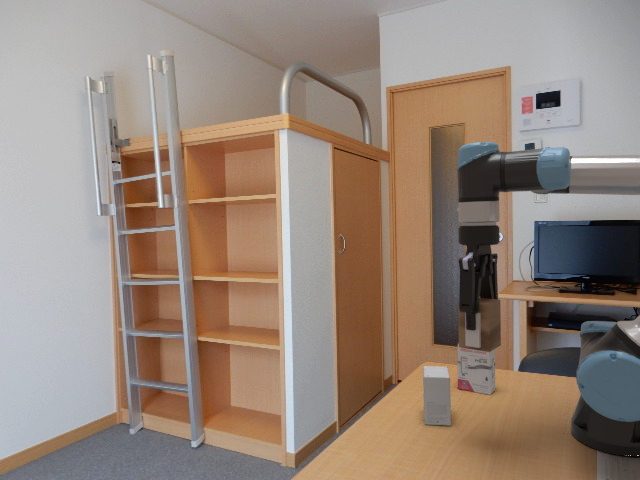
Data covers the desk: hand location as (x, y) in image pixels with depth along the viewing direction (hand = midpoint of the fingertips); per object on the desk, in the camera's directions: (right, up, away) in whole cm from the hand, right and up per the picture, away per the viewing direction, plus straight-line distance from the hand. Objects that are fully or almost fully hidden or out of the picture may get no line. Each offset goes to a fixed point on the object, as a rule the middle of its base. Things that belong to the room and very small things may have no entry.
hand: (480, 342), depth 92 cm
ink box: (+9, -19, +29) cm, 36 cm away
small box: (-5, -20, +12) cm, 24 cm away
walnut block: (0, -1, 0) cm, 1 cm away
